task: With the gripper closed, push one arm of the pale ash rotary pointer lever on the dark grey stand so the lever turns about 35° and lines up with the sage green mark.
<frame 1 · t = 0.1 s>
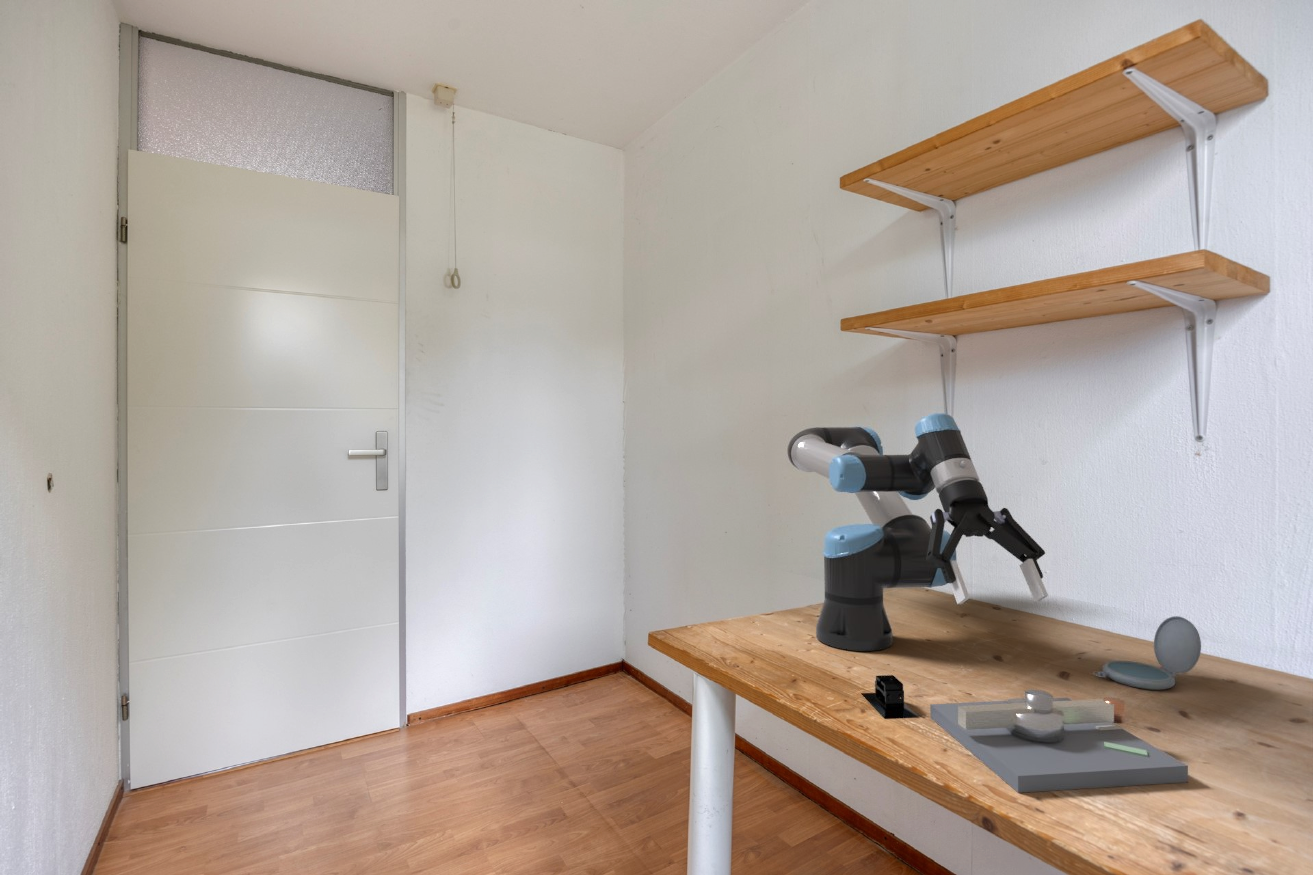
hand: (1002, 600, 104), 15 cm above the table, tool tilted 35°, fingers open, 13 cm apart
black stepped block: (889, 709, 100), on the table
pocket watch: (1139, 681, 109), on the table
stand: (1045, 746, 86), on the table
rotary pointer lever: (1043, 711, 86), point 5 cm above the table, hinge at 0.0°
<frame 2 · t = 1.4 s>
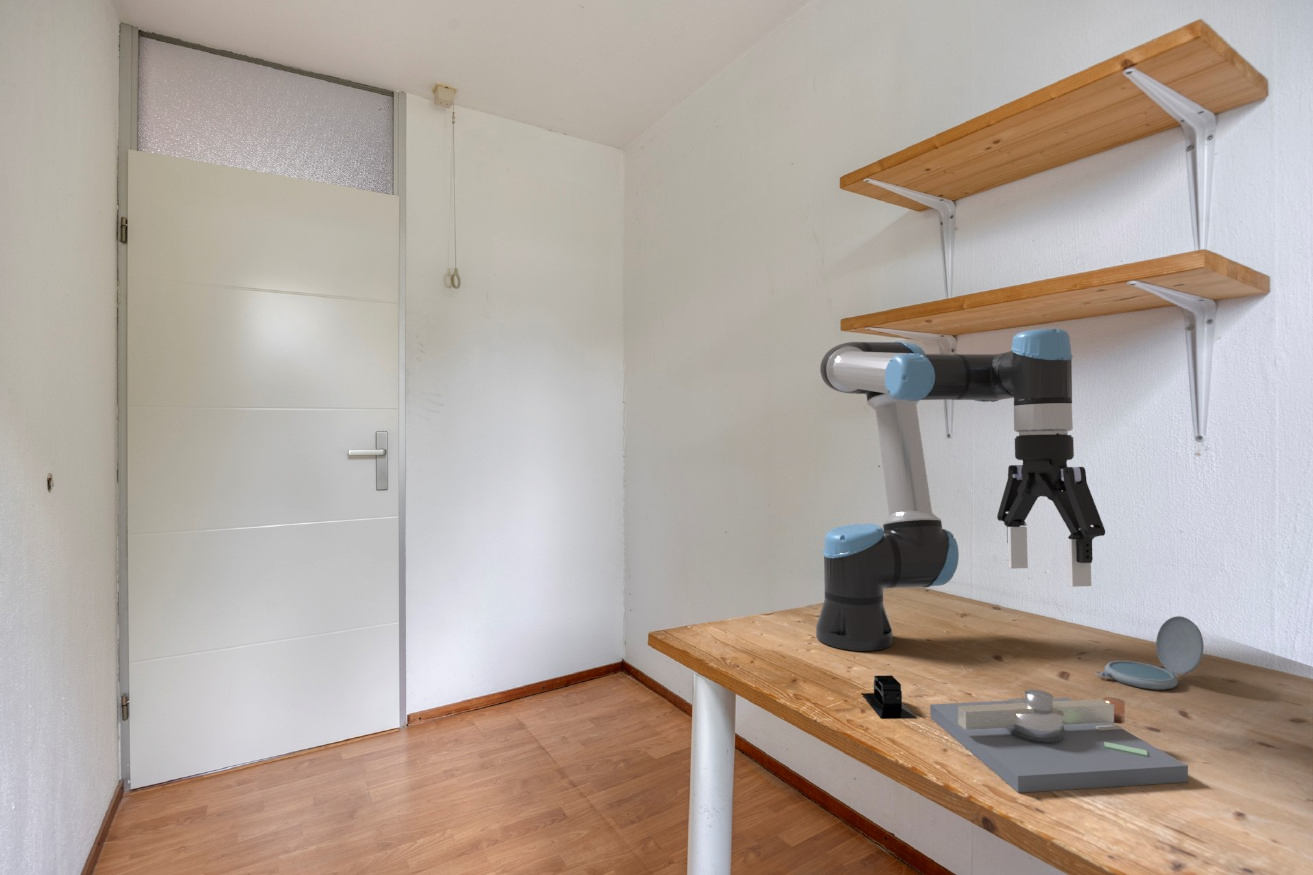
hand: (1046, 576, 94), 21 cm above the table, tool pointing down, fingers open, 13 cm apart
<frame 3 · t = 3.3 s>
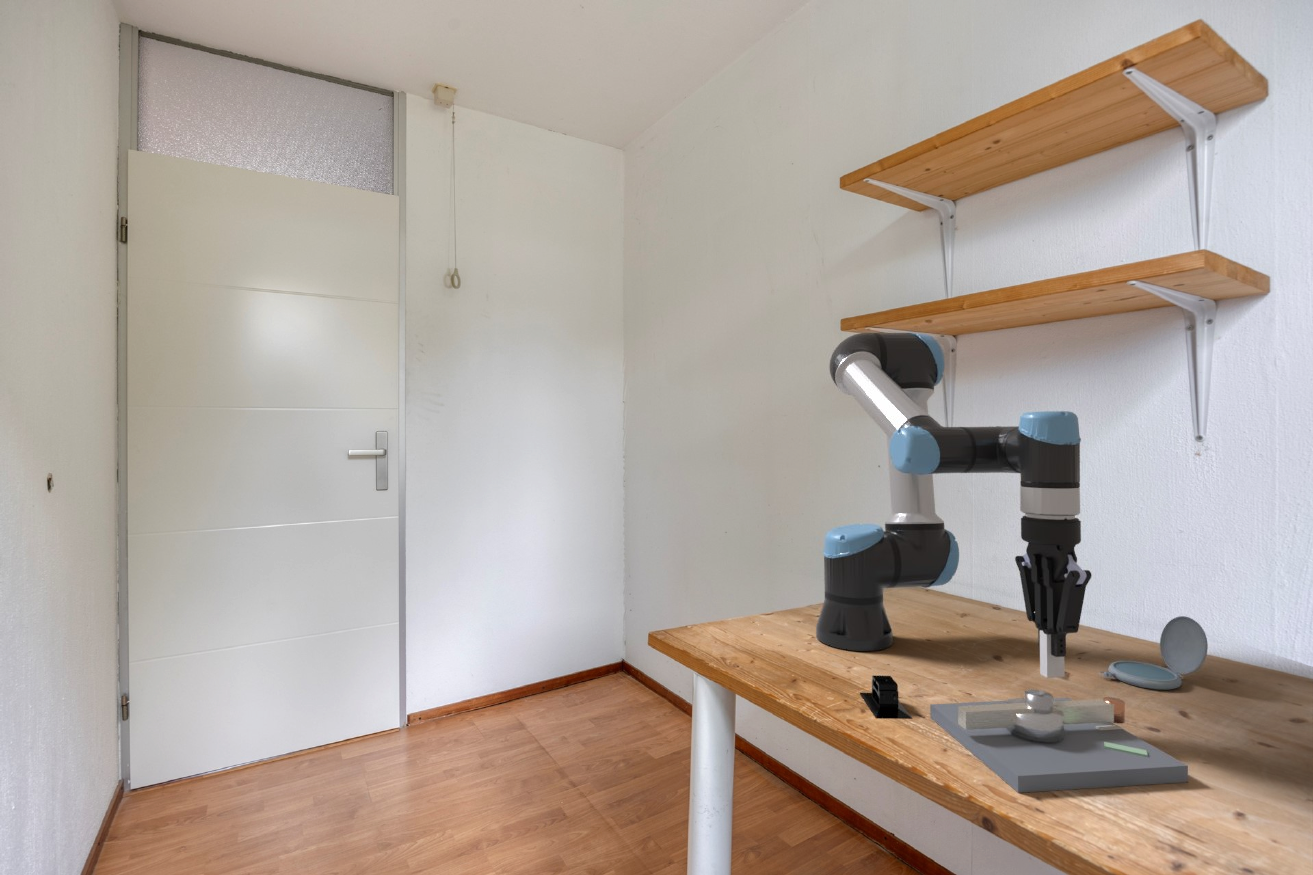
hand: (1052, 675, 94), 7 cm above the table, tool pointing down, fingers closed
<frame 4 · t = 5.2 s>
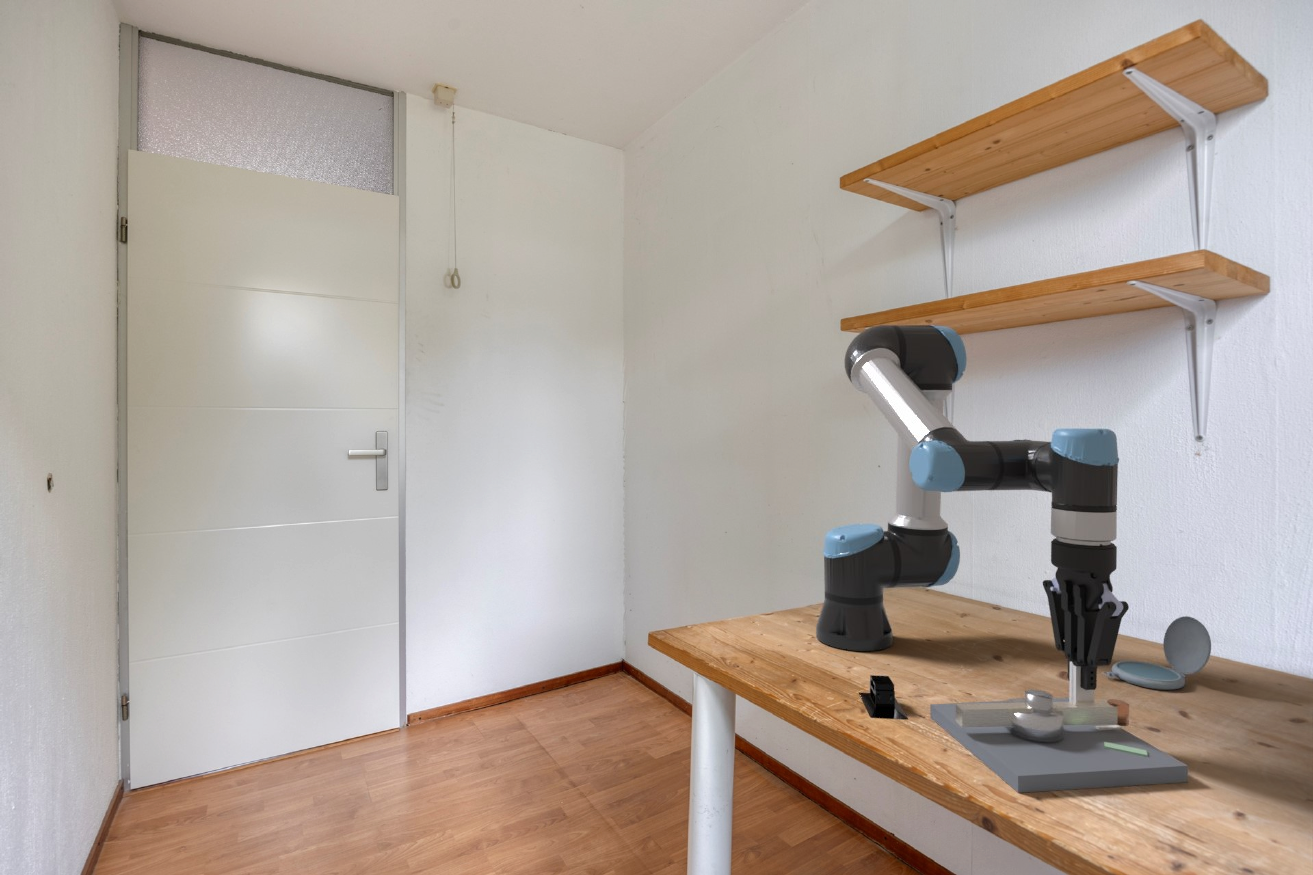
hand: (1081, 708, 88), 4 cm above the table, tool pointing down, fingers closed
rotary pointer lever: (1043, 711, 86), point 5 cm above the table, hinge at 3.9°, touching gripper
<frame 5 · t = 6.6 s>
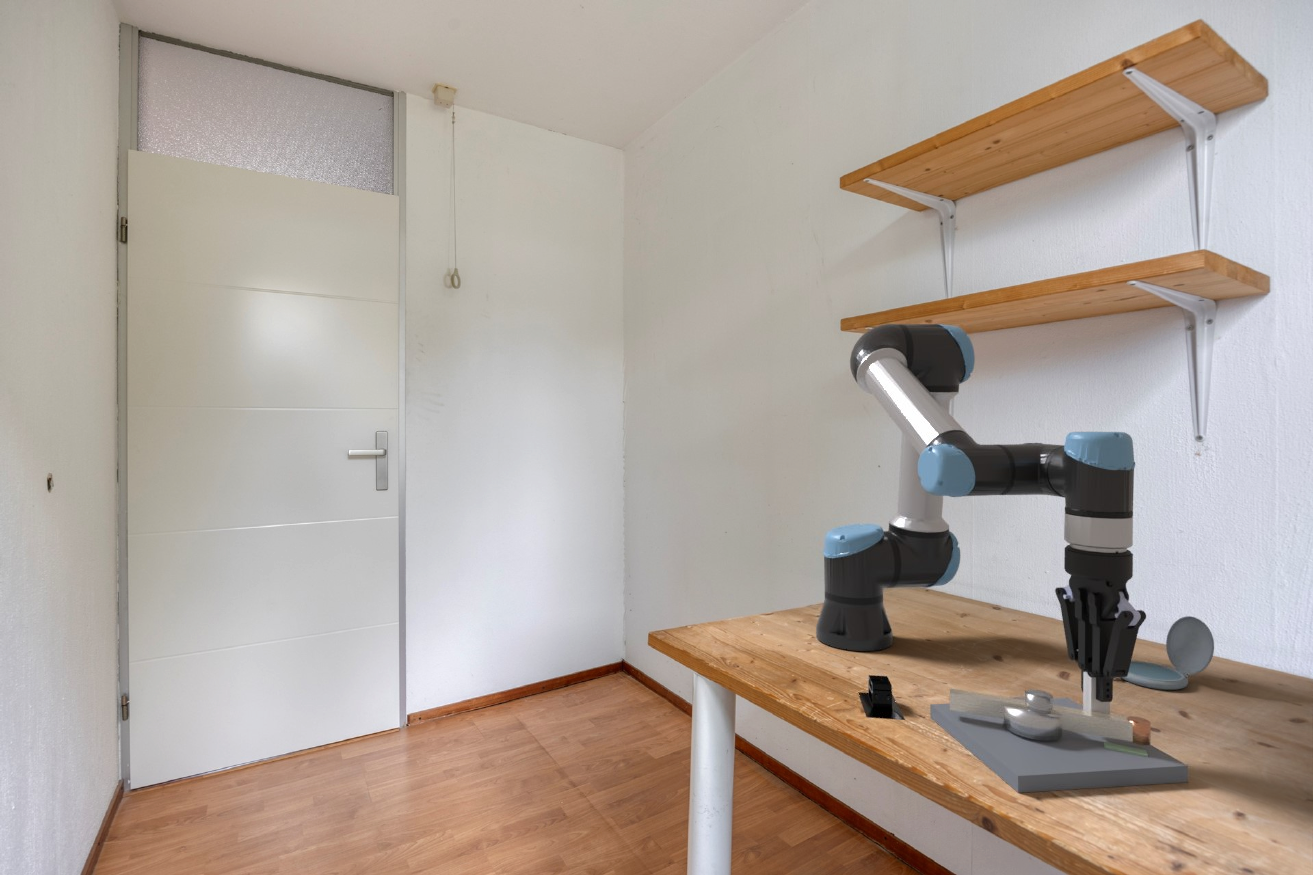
hand: (1096, 721, 85), 4 cm above the table, tool pointing down, fingers closed
rotary pointer lever: (1044, 712, 86), point 5 cm above the table, hinge at 32.3°, touching gripper
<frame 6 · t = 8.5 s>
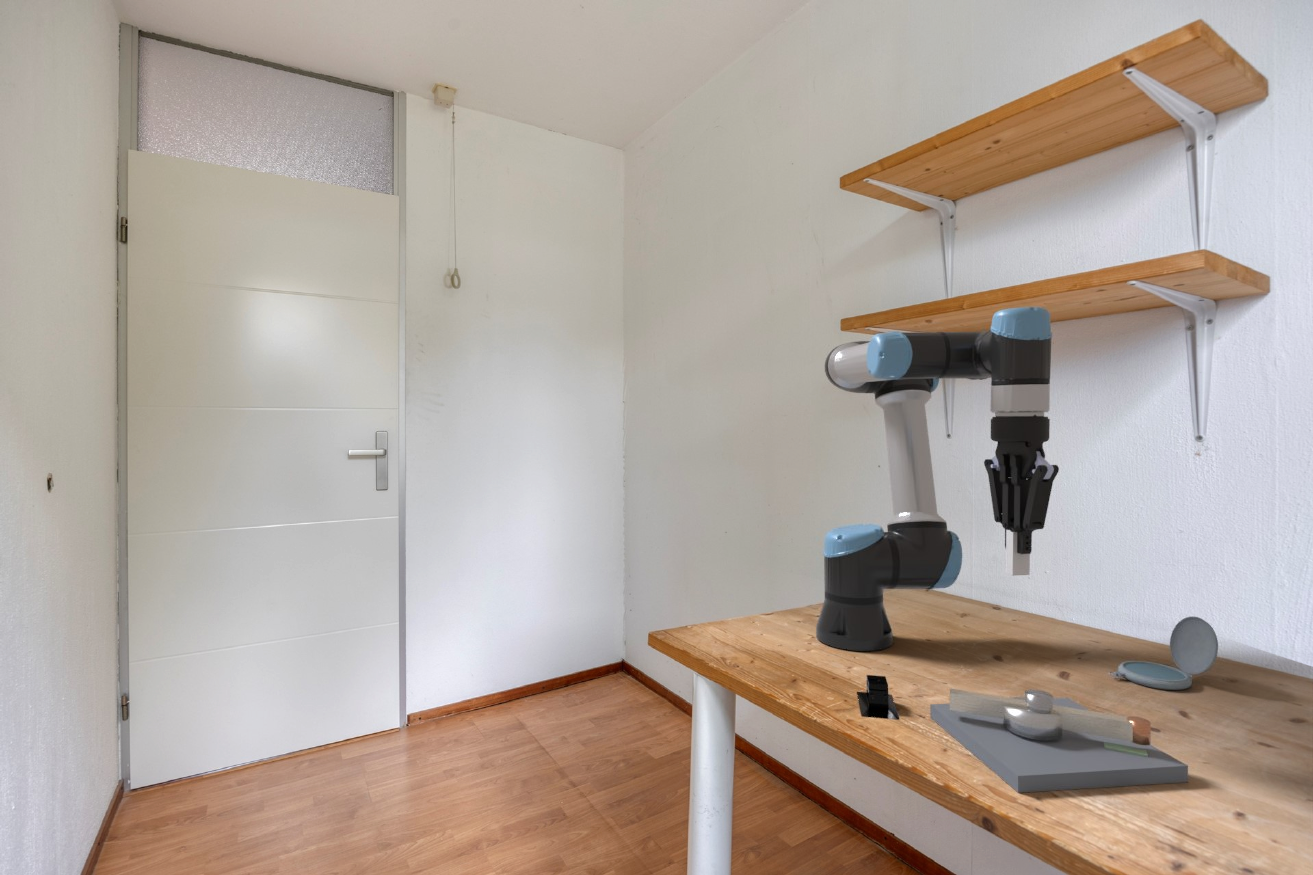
hand: (1017, 573, 94), 22 cm above the table, tool pointing down, fingers closed
rotary pointer lever: (1044, 712, 86), point 5 cm above the table, hinge at 32.3°
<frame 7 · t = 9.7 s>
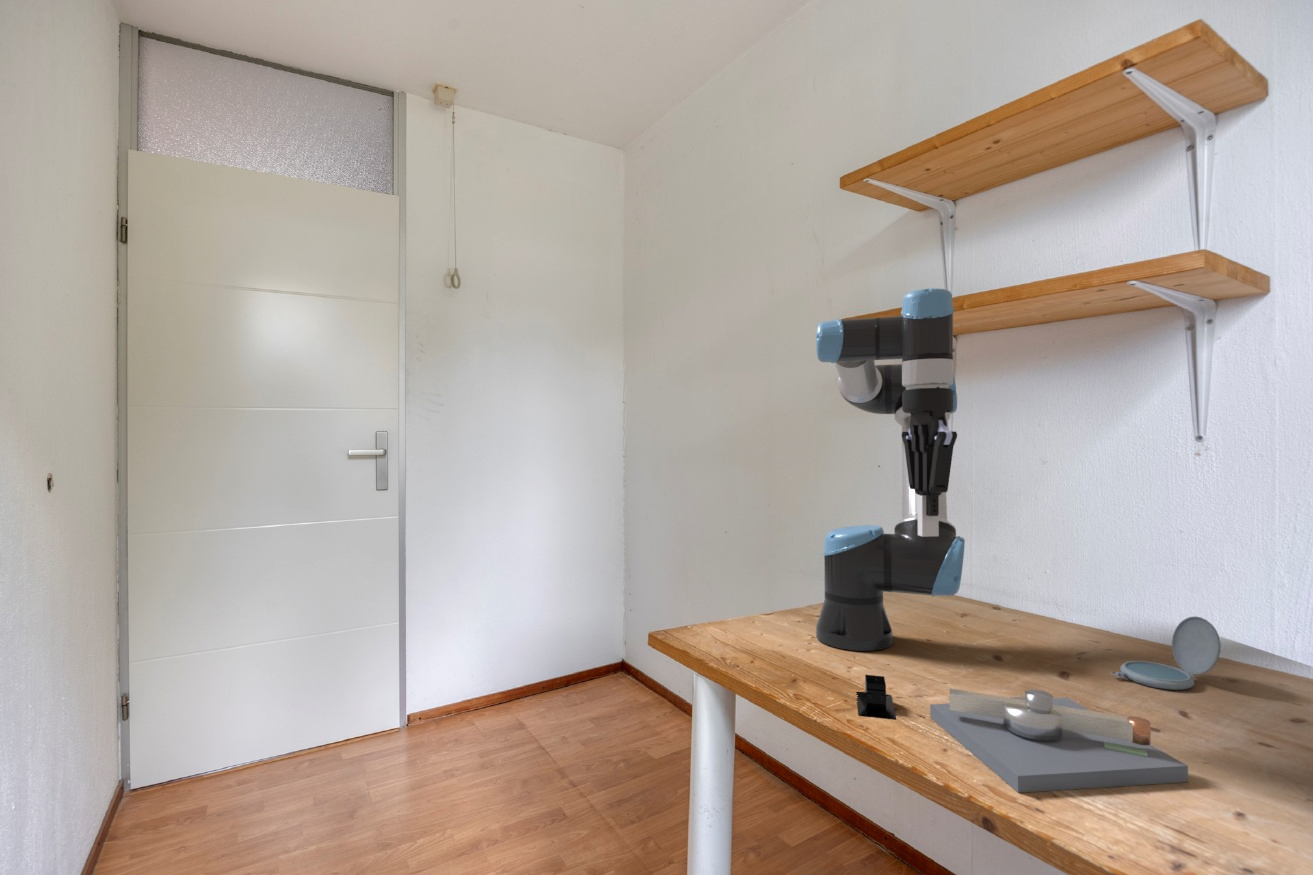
hand: (928, 535, 101), 26 cm above the table, tool pointing down, fingers closed
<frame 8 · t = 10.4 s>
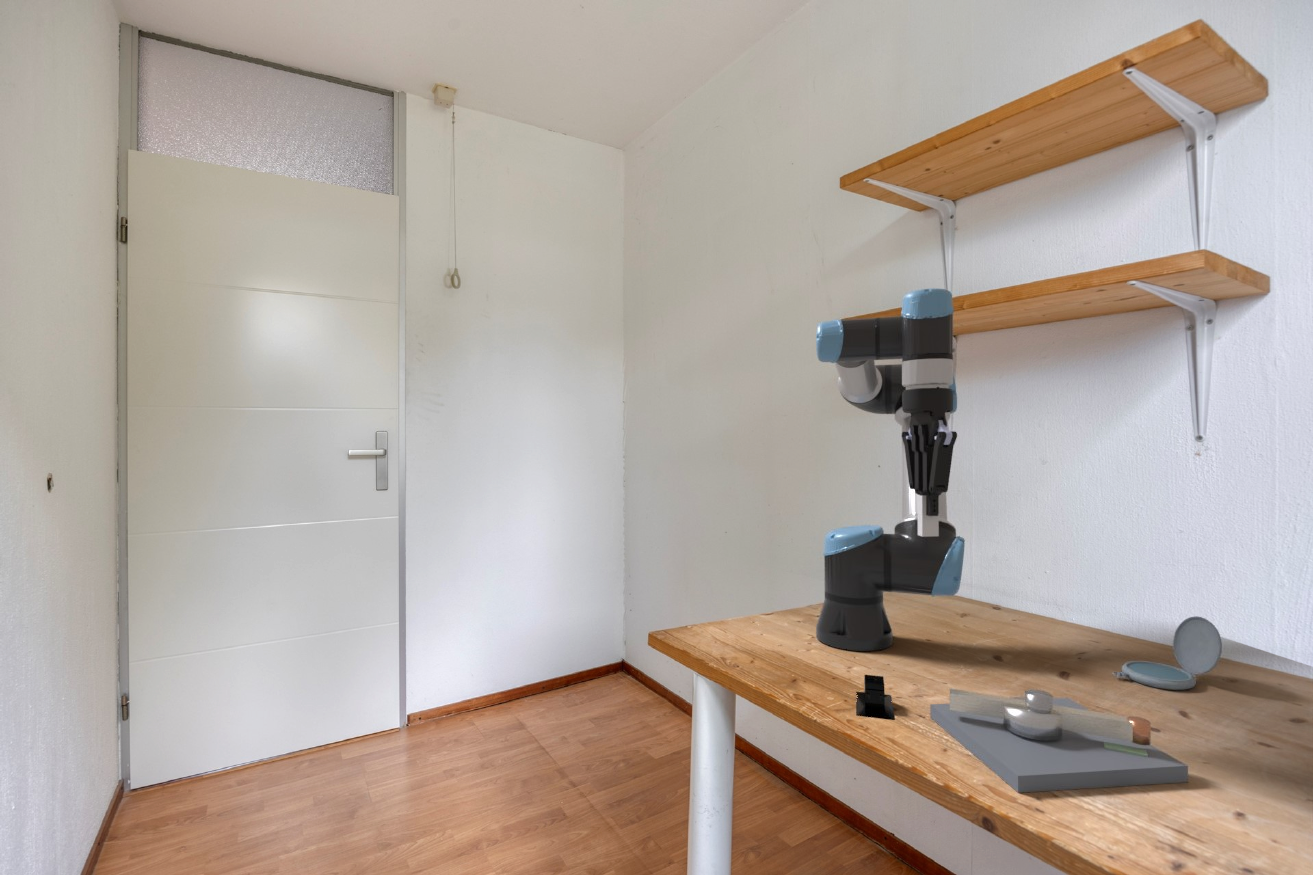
hand: (928, 535, 101), 26 cm above the table, tool pointing down, fingers closed
at the end: rotary pointer lever at +32° (first picture: +0°) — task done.
